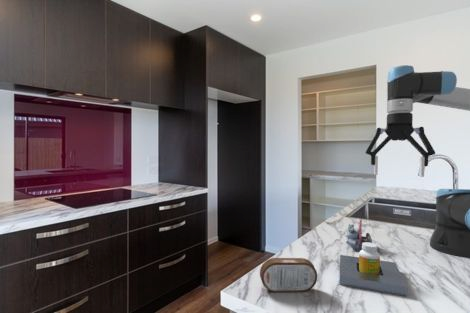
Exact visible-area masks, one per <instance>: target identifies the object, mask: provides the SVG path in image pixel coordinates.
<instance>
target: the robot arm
mask: <svg viewBox="0 0 470 313" xmlns="http://www.w3.org/2000/svg"><path fill="white" fill-rule="evenodd" d="M414 69H415V68H414V66H413V65H398V66H395V67H392V68H391V69H389V71H388V72H387V80H386V81H387V82H386V84H387V86H386V88H387V89H386V91H387V93H386V94H387V95H386V96H387V97H386V98H387V99H386V113H387V115H386V126H385V128H383V127H377V128H376V129H375V135H374V136H373V138H372V140H371V141H370V143H369V145H368V147H367V148H366V149H365V154H366V155H369V156H370V164H371V166H374V167H373V170H374V171H373V174H374V175H375V176H378V174H379V173H378V166H379V164H378V163H379V156H378V155H377V154H378V153H379V152H380V151H381V150H382V149H383V148H384V147H385V146H386V145H387V144H388V143H389V142H390V141H392V142H393V141H401V142H402V141H407V142H409V143H410V144H411V146H413V147H414V148H415V150H417V152H418V153H419V154H421V156H419V166H418V167H419V168H418V169H419V170H418V171H419V174H418V175H419V177H425V167H428V166H429V157H430V156H434V155H436V150H435V149H434V147H433V146H432V144H431V141H430V140H429V139H428V137H427V136H426V133H425V128H424V126H419V127H413V116H414V115H413V113H412V112H413V110H414V109H413V108H414V104H415V103H419V104H424V105H425V104H426V105H432V106H436V107H437V106H439V107H443V108H444V107H445V108H450V109H457V110H463V111H468V112H470V88H465V87H460V86H459V87H458V86H457V83H458V82H457V81H458V79H457V75H456V73H455V72H454V71H450V70H448V71H444V70H441V71H427V72H425V71H424V72H419V71H418V72H415V70H414ZM383 133H385V134H386V135H387V136H386V137H385V138H384V140H383V141H382V142H381V143H379V145H378V146H376V148H375V149H374V150H373V148H374V146H375V145H376V143H377V141H378V139H379V138H380V136H381V135H382V134H383ZM413 133H415V134H417V135H418V137H419V139H420V141H421V142H422V144H423V145H424V147H422V146H421V144H419V143H418V141H416V140H415V138H414V137H413V136H412V134H413ZM424 148H425V149H426V150H425V149H424ZM372 150H373V151H372ZM435 201H436V203H435V204H436V206H435V207H436V208H435V209H436V210H435V228H434V230H433V231H432V234H431V236H430V238H429V246H430V248H432V249H434V250H435V251H438V252H441V253H443V254H448V255H453V256H458V257H465V258H470V189H462V188H439V189H438V190H437V191H436V197H435Z"/></svg>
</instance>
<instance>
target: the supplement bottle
mask: <svg viewBox="0 0 470 313" xmlns="http://www.w3.org/2000/svg"><path fill="white" fill-rule="evenodd" d="M362 249H363V250H361V251H358V252H359V254H358V255H359V256H358V257H359V271H358V272H364V273H370V274H376V275H380V274H379V272H380V260H381V256H380V253H379V252H378V244H376V243H374V242H372V243H369V242H364V243H362Z"/></svg>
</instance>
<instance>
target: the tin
mask: <svg viewBox="0 0 470 313" xmlns="http://www.w3.org/2000/svg"><path fill="white" fill-rule="evenodd" d="M259 277H260V280H261V283H262V285H263V287H265V289H267V290H268V291H270V292H274V293H305V292H308V291H310V290H312V289H313V288H314V287H315V285H316V284H317V281H318V272H317V269H316V268H315V265H314V264H313V263H312V262H311V261H310V260H309V259H307V258H303V257H272V258H269V259H267V260H266V261H263V263H262V265H261V267H260V270H259Z"/></svg>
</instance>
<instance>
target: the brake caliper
mask: <svg viewBox="0 0 470 313" xmlns="http://www.w3.org/2000/svg"><path fill="white" fill-rule="evenodd" d="M362 222H363V220H362V218H360V219H359V222H358V223H359V224H358V228H355V226H354V223H352V224H350V223H348V227H347V230H346V231H347V232H346V233H345V234H344V236H345V238H346V239H347V240H346V241H345V244H348V245H349V247H351V249H352V250H353V251H358V252H360V251H361V250H363V249H362V243H364V242H369V243H373V240H372V237H371V234H370V233H369V232H366V233H365V234H366V235H365V236H362V234H363V233H362V227H363V226H362V224H363V223H362Z"/></svg>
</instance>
